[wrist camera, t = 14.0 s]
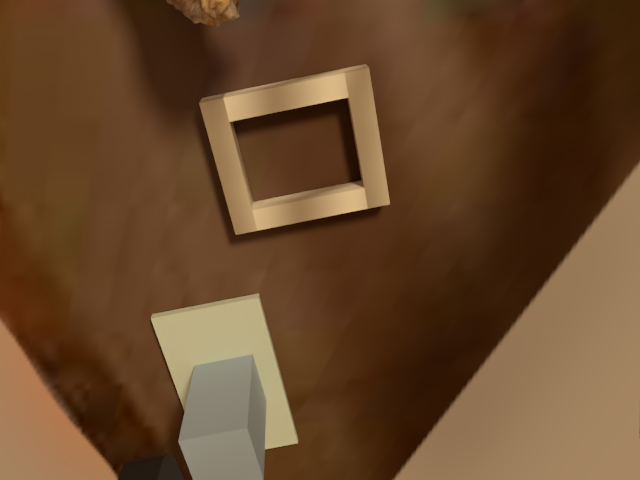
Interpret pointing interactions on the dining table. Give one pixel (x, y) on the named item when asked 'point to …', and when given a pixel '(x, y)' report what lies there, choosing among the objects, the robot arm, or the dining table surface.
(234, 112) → the pocket frame
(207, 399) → the block
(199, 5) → the lion figurine
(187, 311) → the tile
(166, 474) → the robot arm
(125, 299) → the dining table surface
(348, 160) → the dining table surface
